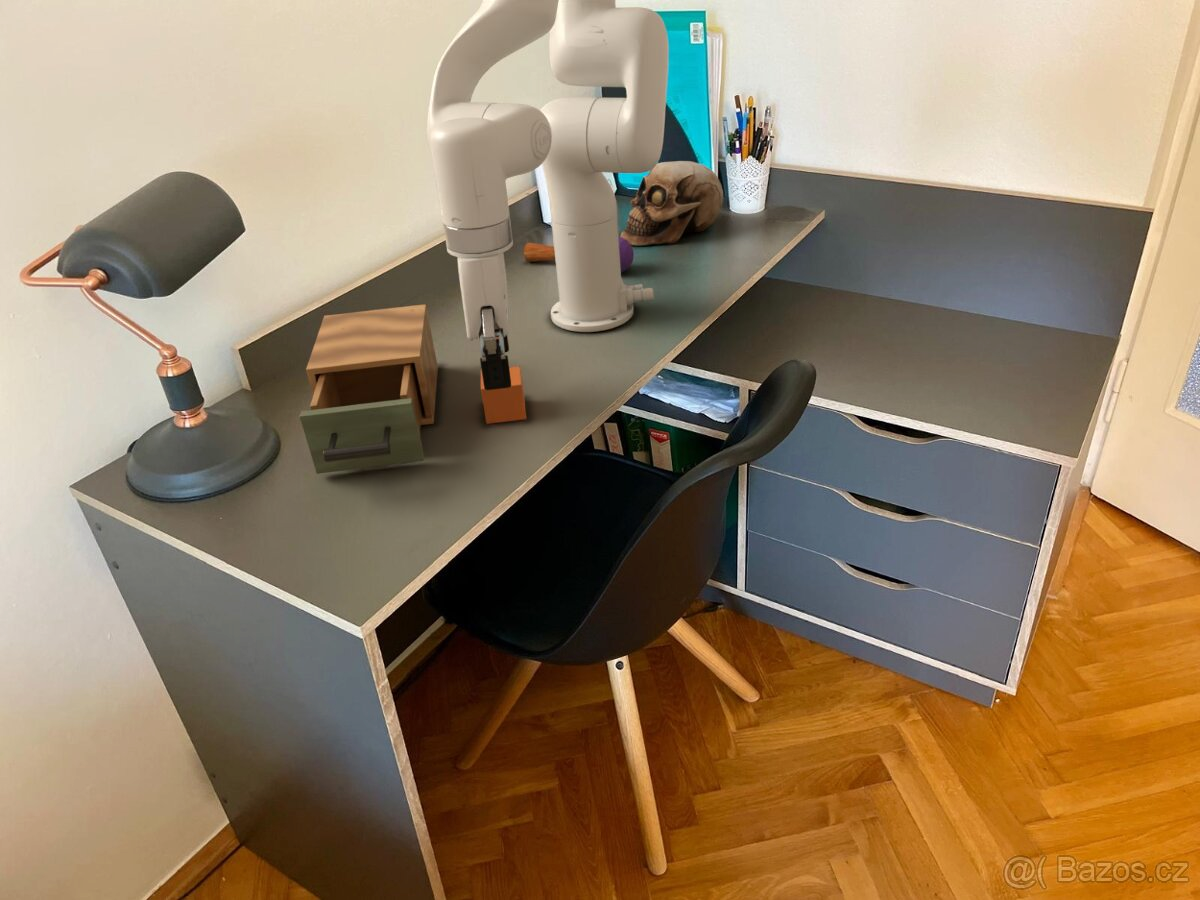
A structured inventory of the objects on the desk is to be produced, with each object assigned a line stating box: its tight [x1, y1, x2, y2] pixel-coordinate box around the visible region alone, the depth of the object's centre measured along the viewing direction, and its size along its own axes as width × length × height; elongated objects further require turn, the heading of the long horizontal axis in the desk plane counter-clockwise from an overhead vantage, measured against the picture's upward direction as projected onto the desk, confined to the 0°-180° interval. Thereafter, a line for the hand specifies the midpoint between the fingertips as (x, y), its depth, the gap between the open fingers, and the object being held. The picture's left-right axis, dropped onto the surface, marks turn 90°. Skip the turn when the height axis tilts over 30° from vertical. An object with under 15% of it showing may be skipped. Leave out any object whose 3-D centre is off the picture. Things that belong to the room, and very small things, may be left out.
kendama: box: [523, 236, 635, 273], centre depth 153 cm, size 6×6×20 cm
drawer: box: [299, 362, 425, 475], centre depth 106 cm, size 19×12×8 cm, turn 7°
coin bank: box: [619, 160, 724, 247], centre depth 162 cm, size 16×17×13 cm
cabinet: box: [305, 303, 439, 426], centre depth 117 cm, size 16×14×10 cm
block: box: [480, 365, 527, 425], centre depth 113 cm, size 5×5×5 cm
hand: (497, 369), depth 111 cm, fingers open, 9 cm apart
